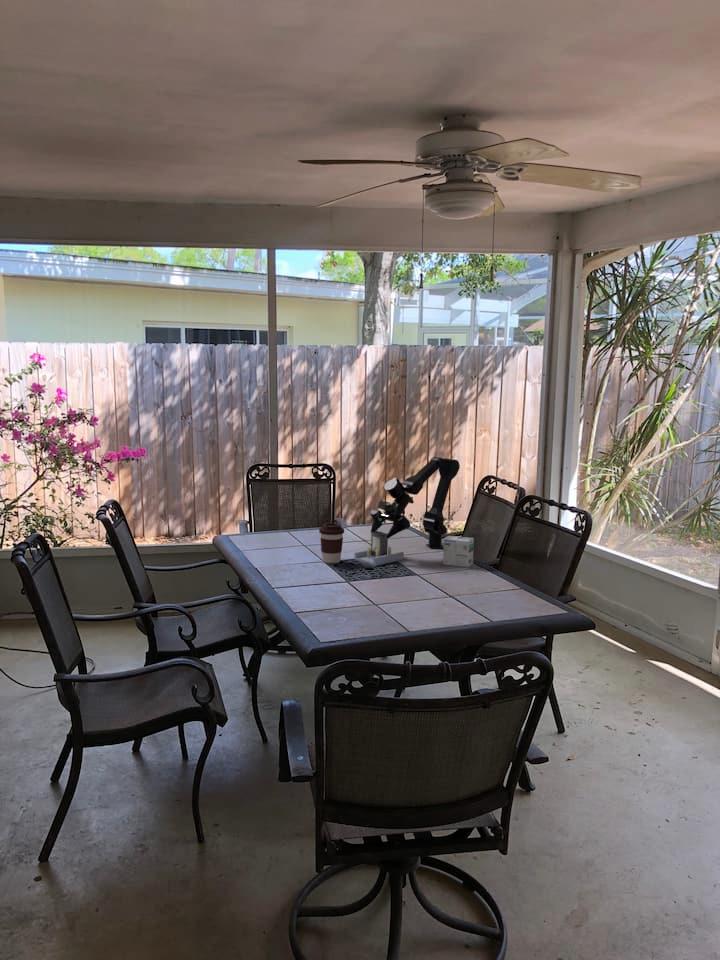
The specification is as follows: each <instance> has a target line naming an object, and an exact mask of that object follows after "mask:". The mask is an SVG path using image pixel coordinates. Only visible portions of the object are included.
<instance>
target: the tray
mask: <svg viewBox="0 0 720 960" xmlns="http://www.w3.org/2000/svg"><path fill="white" fill-rule="evenodd" d="M354 560H355V561H357V562H360V563H365V564H367V565H371V566H375V567H376V566H380V565H384V564H389V563H393V562H398V561H402V560H404V551H398V552H394V553H392V546H388V551H387V555H384V556H380V557H379V550H376V557H371V546H367V549H364V550H360V551H354Z"/></svg>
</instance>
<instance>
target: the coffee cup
mask: <svg viewBox="0 0 720 960" xmlns="http://www.w3.org/2000/svg"><path fill="white" fill-rule="evenodd" d="M318 531H319V534H320V539H319V540H320V551H321V560H322V562H323V563H325V564H338V563H340V562H341V561H342V560H341V559H342V557H341V555H342V551H343V543H344V542H343V540H344V538H343V534H344V533H345V528H344V527H342V525H341V524H340V523H336V522H326V523H324V524H323V525H322V526H321V527H319V529H318Z"/></svg>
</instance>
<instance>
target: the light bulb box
mask: <svg viewBox="0 0 720 960" xmlns="http://www.w3.org/2000/svg"><path fill="white" fill-rule="evenodd" d="M474 540H475V538H474V537H465V536H456V535H448V536H446V537H444V538H443V546H444V548H443V551H442V552H443V555H442V556H443V557H442V558H443V559H442V562H443V563H442V565H444V566H445V565H446V566H452V567H453V566H454V567H460V568H461V567H462V568H470V567H471V566H472V565H473V564H474V543H475V542H474Z"/></svg>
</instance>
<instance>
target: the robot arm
mask: <svg viewBox="0 0 720 960" xmlns="http://www.w3.org/2000/svg"><path fill="white" fill-rule="evenodd" d="M460 466H461V465H460V463H459V460H457V459H453V458H447V457H445V458H443V457H438V456H433V457H431V458H430V460H429V461H428V462H427V463H426V464H425V465H424V466H422V468H421V469H420V470H418V472H417V473H416V474H414V475H411V476H408V477H407V478H405V479H403V481H402V482H401V481H400V479H399V478H398V477H394V476H393V478H392V479H390V480H388V481H387V482H386V483H385V484H384V486H383V487H384V489H385V491H386V492H387V494H389V496H390V497H391V498H392V499H394V500H390V502H389V501H384V500H379V502H378V505H377V509H371V511H370V513H369V516H370V517H371V518H372V525H371V529H370V533H371V532H375V531H379V528H381V527H382V526H383V523H384V522H385V521H388V522H392V525H391V528H390V529H389V530H388V532H387V533H388V534H387V538H388V539H390V538H391V537H393V536H394V535H397V534H398V533H400V532H402V531H405V530H409V528H410V527H411V521H409V519H408V518H407V517H406V516H405V514H406V511H405V510H406V509H407V507H408V505H409V504H414V503H415V502H414V497H413V496H410V495H414V496H417V495H418V494H419V493H420V492H421V491H422V489H423V488H424V484H425V482H426V481H428V479H430V477H432V476H433V475H434V473H436V472H437V471H438V474H439V481H438V484H437V487H436V490H435V495H434V497H433V502H432V505H431V508H430V509H429V510H428V511H427V510H426V511H425V512H424V516H423V518H422V526H423V530H424V532H425V533H428V543H426V544H425V545H426V547H428V548H429V549H444V544H442V543H443V536H445V535H446V534H447V533H448V528H447V527H446V525H445V524H444V522H445V521H444V520H445V517H444V514H443V510H444V508H445V503H446V500H447V497H448V493H449V491H450V490H449V489H450V486H451V483H452V480H454V479H455V478H456V476H457V475H458V472H459V471H460ZM381 510H382V511H381Z"/></svg>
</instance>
